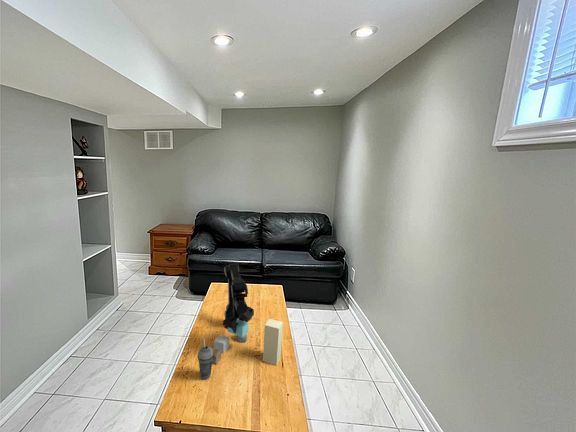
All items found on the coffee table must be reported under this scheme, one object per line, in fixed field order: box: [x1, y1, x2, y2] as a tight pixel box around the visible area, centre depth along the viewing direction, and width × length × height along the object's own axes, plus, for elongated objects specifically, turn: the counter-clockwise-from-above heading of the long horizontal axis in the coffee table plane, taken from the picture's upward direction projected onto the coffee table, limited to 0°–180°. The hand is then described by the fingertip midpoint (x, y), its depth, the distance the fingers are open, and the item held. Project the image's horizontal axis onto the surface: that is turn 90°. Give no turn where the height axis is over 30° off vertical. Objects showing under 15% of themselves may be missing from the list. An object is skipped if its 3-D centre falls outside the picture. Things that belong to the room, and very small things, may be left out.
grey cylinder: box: [237, 333, 248, 344], centre depth 155 cm, size 5×5×6 cm
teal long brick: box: [227, 319, 249, 338], centre depth 147 cm, size 10×5×6 cm, turn 62°
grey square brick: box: [213, 334, 230, 354], centre depth 147 cm, size 6×6×6 cm
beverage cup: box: [197, 337, 213, 381], centre depth 126 cm, size 7×7×20 cm
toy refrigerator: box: [262, 318, 284, 366], centre depth 140 cm, size 8×7×21 cm
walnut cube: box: [211, 347, 222, 366], centre depth 138 cm, size 5×5×5 cm
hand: (237, 330), depth 147 cm, fingers closed on teal long brick, 5 cm apart
